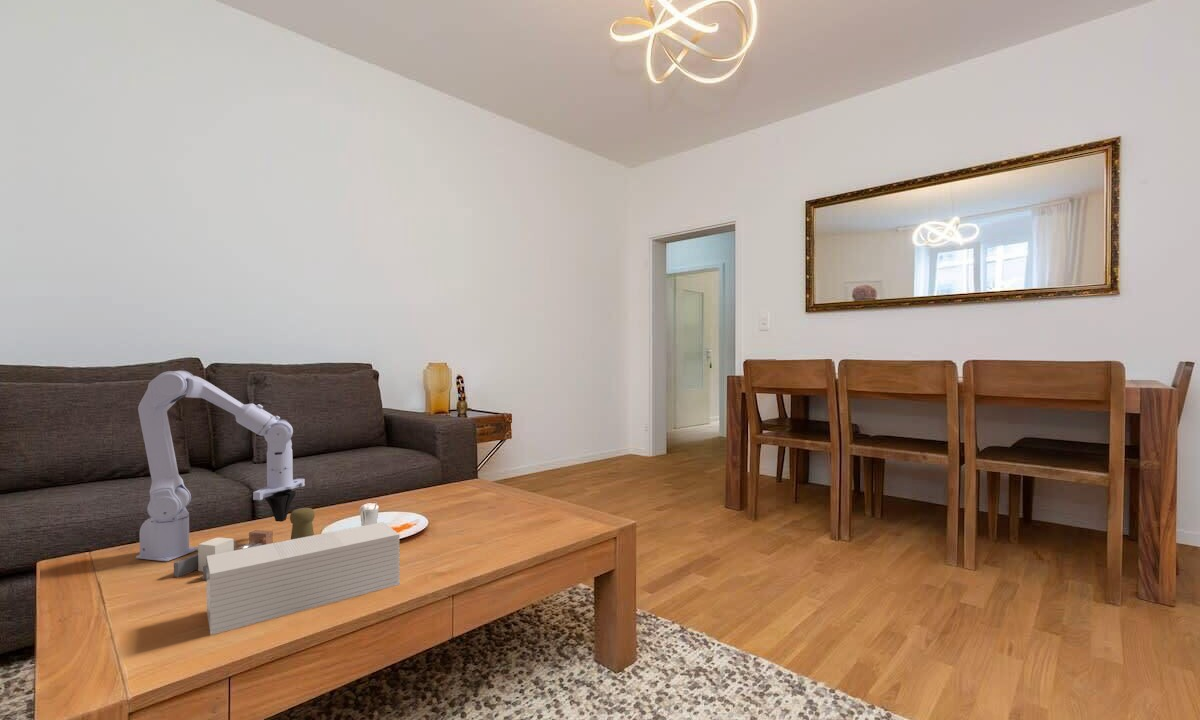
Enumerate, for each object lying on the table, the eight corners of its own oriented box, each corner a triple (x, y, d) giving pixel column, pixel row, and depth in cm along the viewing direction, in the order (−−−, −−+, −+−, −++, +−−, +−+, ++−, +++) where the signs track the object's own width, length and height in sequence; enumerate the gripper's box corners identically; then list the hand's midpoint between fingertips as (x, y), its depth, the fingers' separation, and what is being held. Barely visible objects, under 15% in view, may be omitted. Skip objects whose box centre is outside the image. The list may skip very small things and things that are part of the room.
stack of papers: (383, 569, 120) (383, 521, 120) (399, 585, 112) (399, 534, 112) (206, 613, 100) (206, 555, 100) (210, 636, 92) (209, 573, 92)
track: (173, 576, 116) (173, 562, 116) (231, 553, 130) (231, 540, 130) (207, 580, 114) (207, 566, 114) (262, 556, 128) (262, 543, 128)
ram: (217, 560, 124) (217, 543, 124) (254, 545, 134) (254, 529, 134) (238, 562, 123) (238, 545, 123) (274, 547, 133) (274, 531, 133)
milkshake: (368, 543, 136) (368, 504, 136) (356, 539, 139) (355, 501, 139) (384, 538, 140) (384, 500, 140) (371, 534, 143) (371, 497, 143)
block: (198, 571, 119) (198, 544, 119) (217, 563, 124) (217, 537, 124) (215, 572, 118) (215, 545, 118) (233, 564, 123) (233, 538, 123)
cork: (304, 560, 125) (303, 513, 125) (282, 558, 126) (281, 511, 126) (322, 550, 131) (322, 506, 131) (301, 549, 132) (300, 504, 132)
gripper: (269, 475, 130) (270, 530, 130) (314, 463, 144) (314, 513, 145) (245, 473, 132) (246, 528, 132) (291, 462, 146) (292, 511, 146)
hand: (280, 520), depth 138 cm, fingers closed
